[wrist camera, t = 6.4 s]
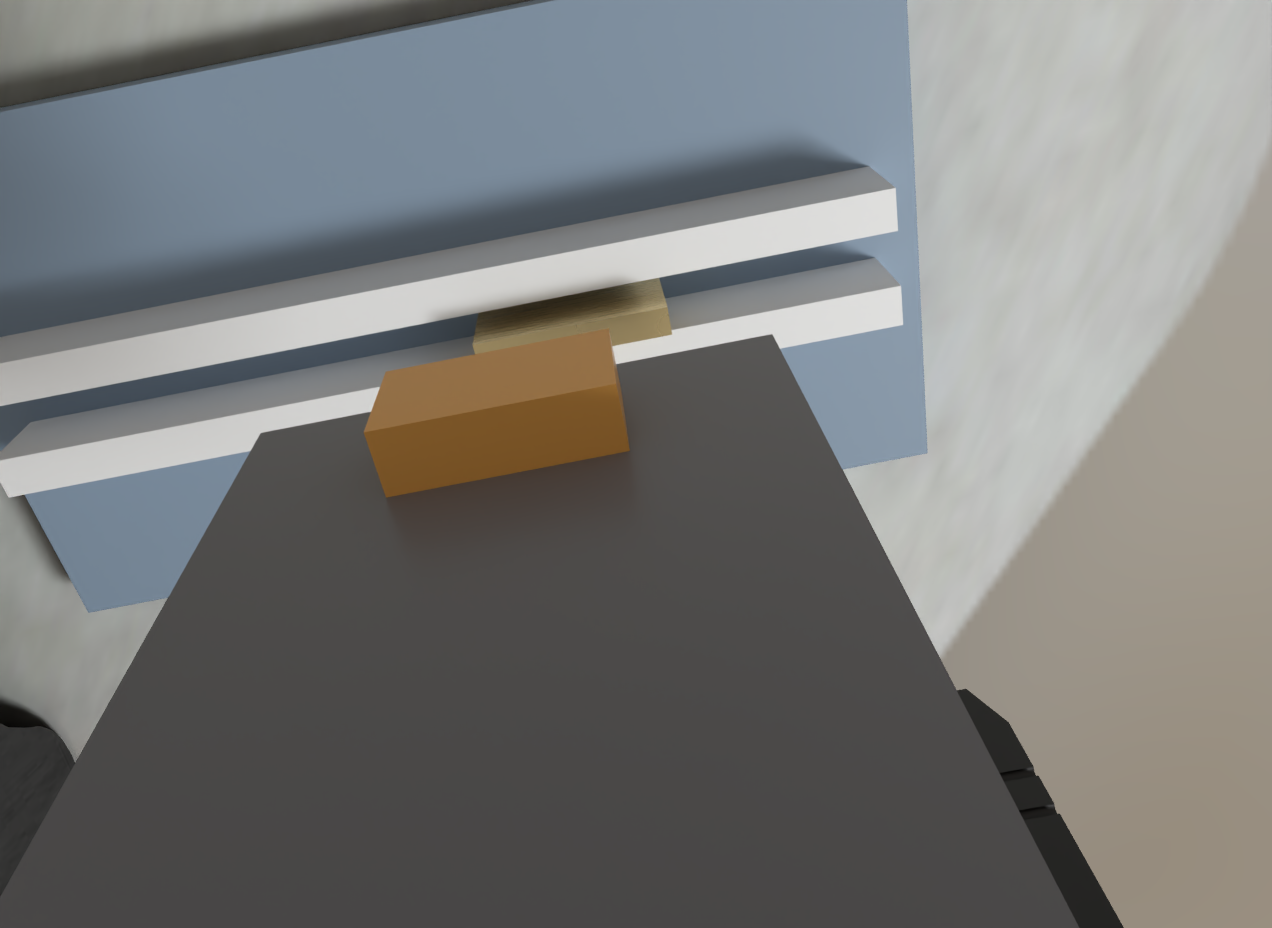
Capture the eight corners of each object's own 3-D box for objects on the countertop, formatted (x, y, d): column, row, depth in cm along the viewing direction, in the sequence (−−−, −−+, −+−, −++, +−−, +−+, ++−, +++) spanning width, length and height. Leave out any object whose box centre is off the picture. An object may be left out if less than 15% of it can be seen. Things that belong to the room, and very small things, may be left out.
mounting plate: (-131, 134, 22) (-232, 167, 19) (886, -72, 21) (937, -69, 19) (106, 586, 28) (55, 662, 25) (912, 431, 27) (954, 492, 24)
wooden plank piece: (479, 311, 22) (472, 344, 21) (658, 275, 22) (667, 307, 21) (485, 336, 23) (479, 371, 21) (662, 301, 23) (672, 334, 21)
